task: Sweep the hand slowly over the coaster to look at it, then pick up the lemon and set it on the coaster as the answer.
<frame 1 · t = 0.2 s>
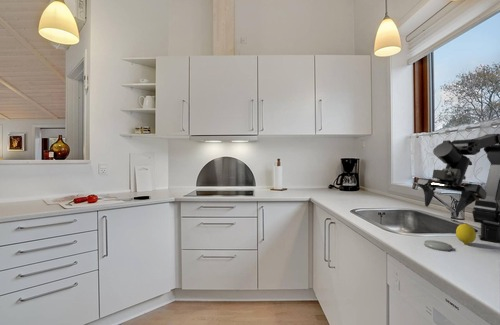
hand: (440, 209, 82), 14 cm above the countertop, tool tilted 30°, fingers open, 9 cm apart
lemon: (465, 244, 88), on the countertop
coaster: (437, 246, 86), on the countertop
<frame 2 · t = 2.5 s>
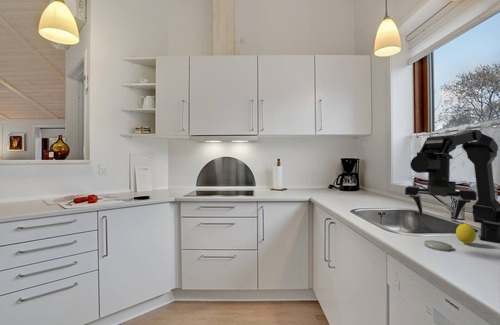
hand: (437, 217, 81), 12 cm above the countertop, tool pointing down, fingers open, 9 cm apart
nothing on the countertop moved.
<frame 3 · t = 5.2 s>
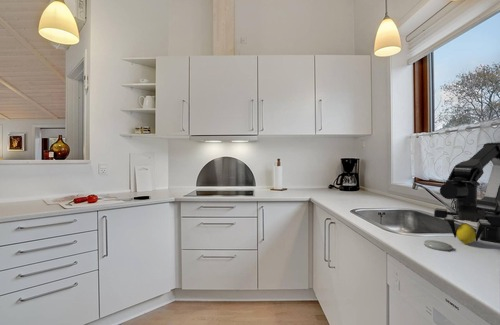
hand: (465, 238, 88), 2 cm above the countertop, tool pointing down, fingers closed on lemon, 5 cm apart
lemon: (465, 244, 88), on the countertop, touching gripper
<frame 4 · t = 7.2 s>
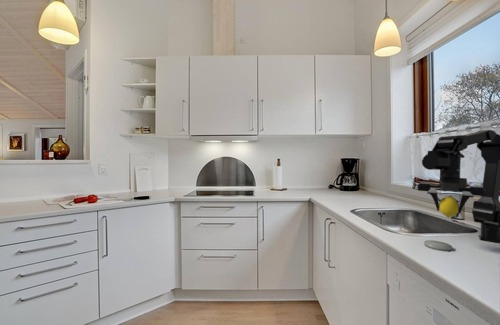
hand: (448, 212, 86), 13 cm above the countertop, tool pointing down, fingers closed on lemon, 5 cm apart
lemon: (448, 218, 86), point 10 cm above the countertop, touching gripper
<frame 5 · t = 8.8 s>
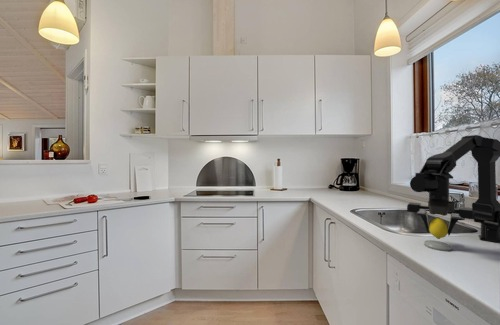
hand: (438, 233, 86), 5 cm above the countertop, tool pointing down, fingers closed on lemon, 5 cm apart
lemon: (438, 239, 86), point 3 cm above the countertop, touching gripper
when the fingers open (4 cm above the countertop, at t = 9.5 s): lemon stays where it is, resting on coaster.
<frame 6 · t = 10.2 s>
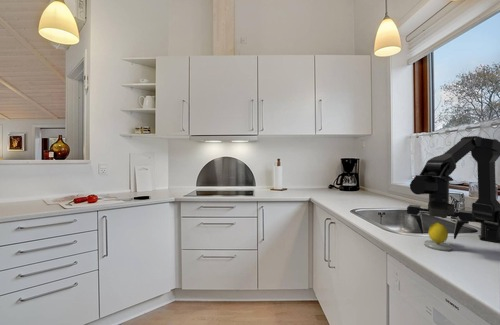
hand: (437, 235, 86), 4 cm above the countertop, tool pointing down, fingers open, 9 cm apart
lemon: (437, 244, 86), point 1 cm above the countertop, touching coaster
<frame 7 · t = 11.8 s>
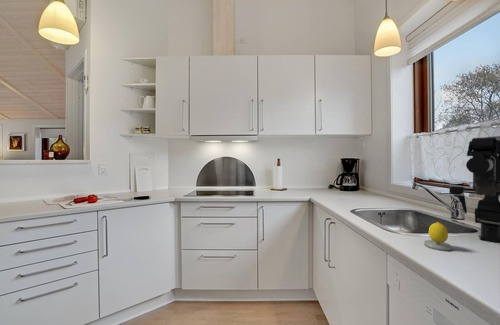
hand: (483, 215, 84), 12 cm above the countertop, tool pointing down, fingers open, 9 cm apart
nothing on the countertop moved.
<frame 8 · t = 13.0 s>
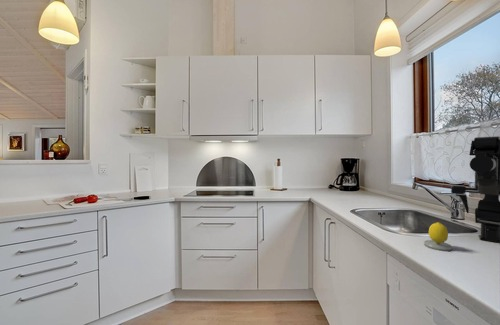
hand: (485, 215, 84), 12 cm above the countertop, tool pointing down, fingers open, 9 cm apart
nothing on the countertop moved.
at the end: lemon 0.1 cm off-centre on the coaster, point 0.8 cm above the coaster's base; the gripper is holding nothing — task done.
